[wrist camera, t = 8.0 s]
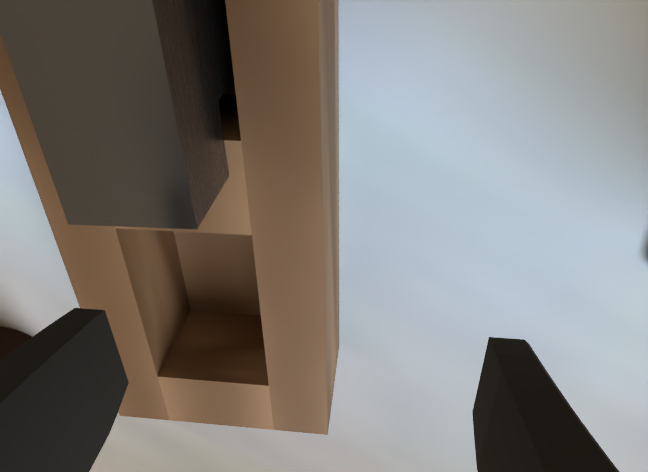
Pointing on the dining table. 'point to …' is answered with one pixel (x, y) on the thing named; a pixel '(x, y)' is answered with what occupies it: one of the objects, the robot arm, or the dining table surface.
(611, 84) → the dining table surface
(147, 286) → the wooden slotted block
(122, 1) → the grey rectangular block
